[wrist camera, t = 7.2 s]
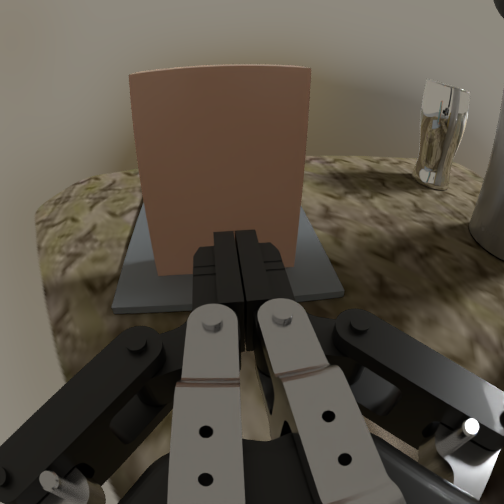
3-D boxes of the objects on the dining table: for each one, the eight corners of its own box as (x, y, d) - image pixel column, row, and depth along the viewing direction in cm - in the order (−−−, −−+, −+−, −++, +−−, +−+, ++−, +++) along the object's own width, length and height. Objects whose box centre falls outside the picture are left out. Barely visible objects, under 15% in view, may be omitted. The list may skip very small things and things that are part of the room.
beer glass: (426, 170, 44) (442, 82, 36) (458, 189, 39) (479, 95, 30) (399, 173, 42) (415, 75, 33) (433, 194, 37) (456, 87, 28)
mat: (284, 180, 38) (284, 176, 37) (342, 296, 22) (344, 290, 21) (150, 188, 36) (150, 183, 36) (113, 313, 20) (111, 307, 20)
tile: (287, 249, 25) (300, 66, 17) (293, 266, 24) (311, 68, 15) (161, 257, 24) (137, 71, 16) (158, 275, 22) (128, 74, 14)
